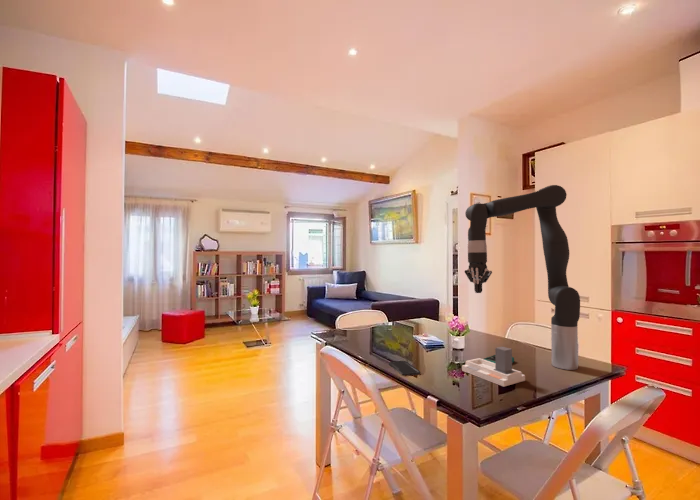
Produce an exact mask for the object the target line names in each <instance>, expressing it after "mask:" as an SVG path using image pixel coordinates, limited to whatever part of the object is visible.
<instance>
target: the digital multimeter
mask: <svg viewBox="0 0 700 500" xmlns="http://www.w3.org/2000/svg"><path fill="white" fill-rule="evenodd" d="M483 359H484V360H487V361H490V362H493V363H495V354H494V355H490V356H487V357H486V358H483ZM513 363H515V357H513V356H512V364H513Z"/></svg>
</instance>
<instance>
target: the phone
mask: <svg viewBox="0 0 700 500" xmlns="http://www.w3.org/2000/svg"><path fill="white" fill-rule="evenodd" d="M388 365H389V366H390V367H391V368H392V367H393V369H394V370H395V371H396V372H397V373H398V372H399V373H398V374H399V375H401V376H403V377H406V376H405V375H408V376H418V375H420V374H421V371H420V370H419V369H417V368H416V367H415V366H413V365H412V364H411V363H409V362H408V361H406V360H397V361H396V360H395V361H389V362H388Z"/></svg>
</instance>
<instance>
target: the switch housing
mask: <svg viewBox="0 0 700 500" xmlns="http://www.w3.org/2000/svg"><path fill="white" fill-rule="evenodd" d="M494 369H496V364H495V363H493V362H490V361H487V360H484V358H482V357H481V358H480V357H477V358H474V359H473V358H472V359H468V360H465V364H463V365H461V370H462V372H465V373H468V374H469V375H473V376H475V377H478V378H479V379H482V380H485V381H488V382H491V383H494V384H496V385H499V386H501V387H507V386H510V385H514V384H518V383H521V382H525V381H526V375H525V374H523V372H522V371H520V370H517V369H514V368H512V371H514V373H510V374H504V373H501V372H498V371H496V370H494Z"/></svg>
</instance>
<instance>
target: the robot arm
mask: <svg viewBox="0 0 700 500" xmlns="http://www.w3.org/2000/svg"><path fill="white" fill-rule="evenodd" d="M567 195H568V194H567V191H566V189H565V188H564V187H563V186H561V185H558V184H552V185H551V184H550V185H548V186H545V187H543V188H540V189H538V190H536V191H533V192H529V193H525V194H521V195H514V196H509V197H504V198H499V199H495V200H491V201H489V202H485V203H481V202H479V203H478V202H477V203H474V204H472V205H470V206H468V207H467V209H466V210H465V218H466V219H467V220H468V221H470V225H469V228H468V230H467V263H468V264H469V265H468V268H467V269H466V270H464V273H465V276H466V277H467V279H468V280H469V282H470V283H473V284H474V285H473V286H474V293H475V294H482V293H483V284H484V283H485V284H486V283H487V282H488V280H489V278H490V277H491V275H492V274H493V270H489V268H488V266H487V263H488V246H487V237H486V234H487V233H486V229H487V223H488V219H490V218H496V217H502V216H503V217H504V216H507V215H512V214H515V213H519V212H522V211H526V210H529V209H534V208H536V212H537V216H538V220H539V226H540V234H541V241H542V242H541V243H542V249H543V255H544V261H545V262H544V263H545V269H546V272H547V296H548V299H549V302H550V303H551V304H552V305H553V306H554V315H552V317H551V325H550V326H551V329H550V331H551V333H550V335H551V337H550V338H551V365H552V366H553V367H555V368H557V369H561V370H568V371H569V370H571V371H572V370H573V371H574V370H578V368H579V342H578V341H579V340H578V338H579V337H578V334H579V332H578V325H579V324H578V322H579V320H580V318H581V317H580V316H581V296H580V293H579V292H578V290H576V289H575V288H573V287H571V286H569V284H568V282H569V281H568V277H567V269H568V264H569V259H570V247H569V239H568V236H567V234H566V232H565V231H564V229H563V227H562V225H561V224H560V222H559V220H558V214H557V207H559V206H561V205H562V204H563V203H565V201H566V200H567Z"/></svg>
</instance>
